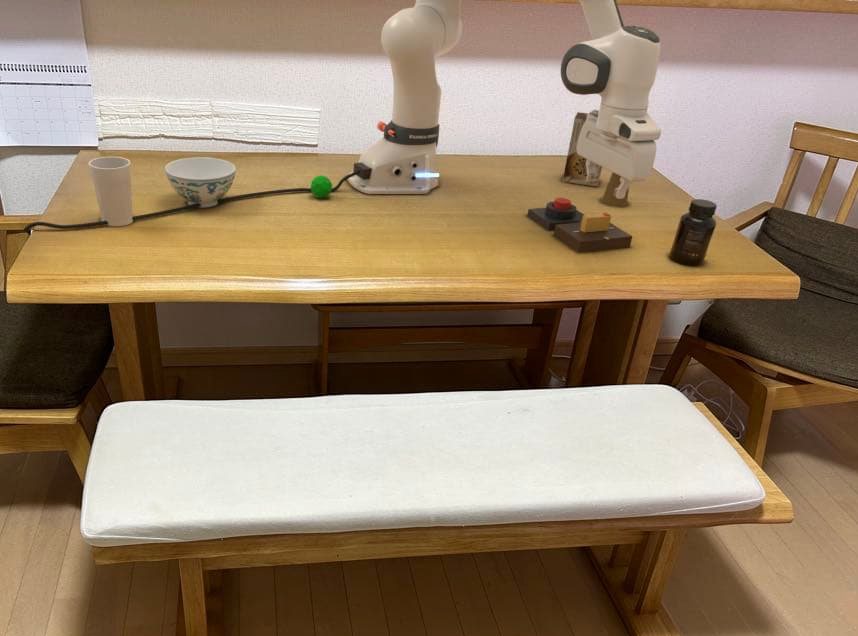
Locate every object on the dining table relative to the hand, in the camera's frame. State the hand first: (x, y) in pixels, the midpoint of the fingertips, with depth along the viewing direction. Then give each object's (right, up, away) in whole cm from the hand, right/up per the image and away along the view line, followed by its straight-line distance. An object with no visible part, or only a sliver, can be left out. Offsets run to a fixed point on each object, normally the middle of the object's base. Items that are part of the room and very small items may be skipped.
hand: (604, 190), depth 154 cm
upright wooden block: (-1, -7, +5) cm, 9 cm away
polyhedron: (-59, +4, +20) cm, 63 cm away
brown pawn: (+11, +5, +28) cm, 31 cm away
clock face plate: (-1, -9, +6) cm, 11 cm away
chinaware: (-85, +1, +13) cm, 86 cm away
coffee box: (+7, +14, +41) cm, 43 cm away
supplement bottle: (+17, -14, +1) cm, 22 cm away
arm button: (-5, 0, +14) cm, 15 cm away
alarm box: (-5, -3, +15) cm, 17 cm away
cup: (-101, -6, +2) cm, 101 cm away
